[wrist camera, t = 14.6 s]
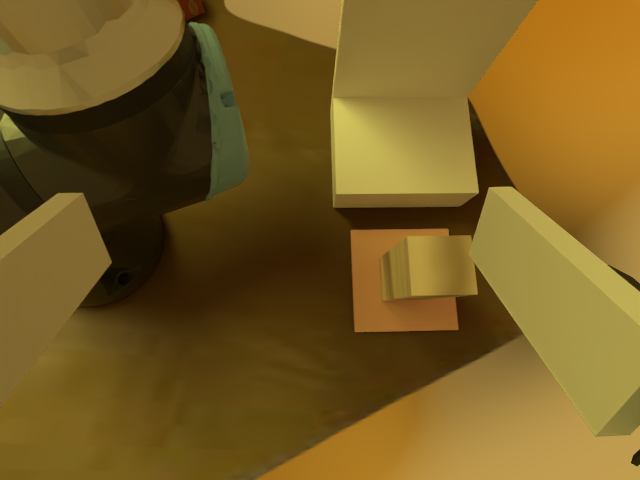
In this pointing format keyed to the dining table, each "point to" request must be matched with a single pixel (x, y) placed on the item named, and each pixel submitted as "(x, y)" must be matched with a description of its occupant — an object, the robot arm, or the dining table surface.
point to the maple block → (428, 269)
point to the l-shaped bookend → (411, 97)
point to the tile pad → (368, 291)
